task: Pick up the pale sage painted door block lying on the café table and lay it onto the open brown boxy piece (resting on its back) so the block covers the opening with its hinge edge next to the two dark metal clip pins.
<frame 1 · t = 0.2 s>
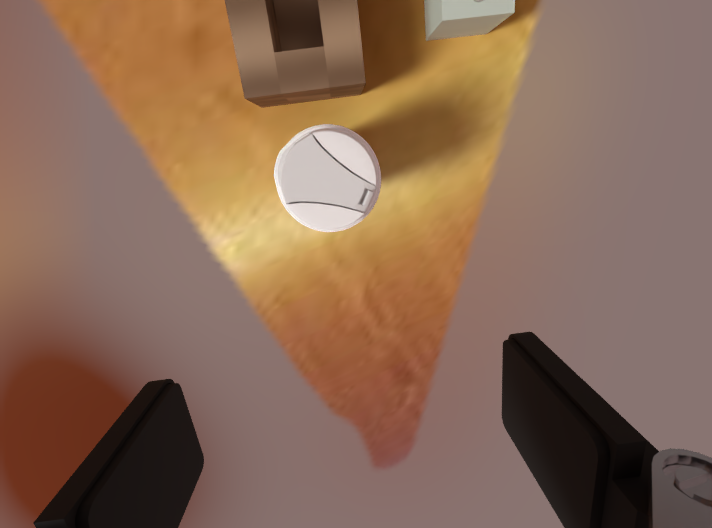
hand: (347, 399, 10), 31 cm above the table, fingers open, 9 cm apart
paper cup: (330, 169, 38), on the table
brown boxy piece: (299, 20, 33), on the table
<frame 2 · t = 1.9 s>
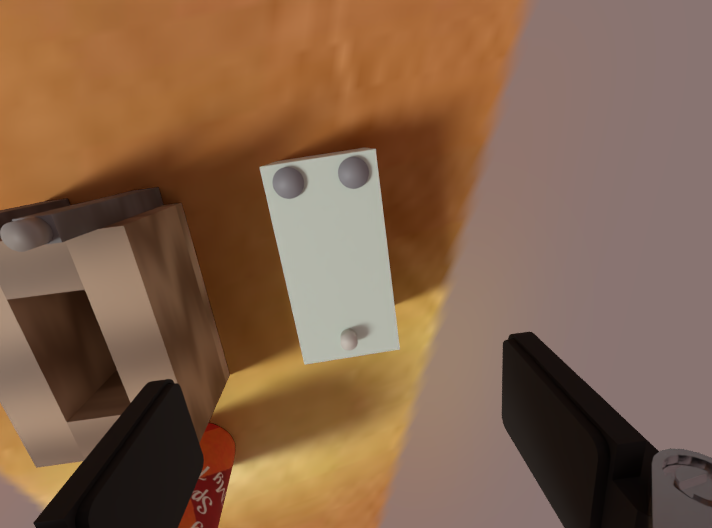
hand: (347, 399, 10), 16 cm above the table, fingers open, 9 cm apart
paper cup: (203, 445, 31), on the table
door: (335, 239, 26), on the table
brown boxy piece: (140, 305, 26), on the table
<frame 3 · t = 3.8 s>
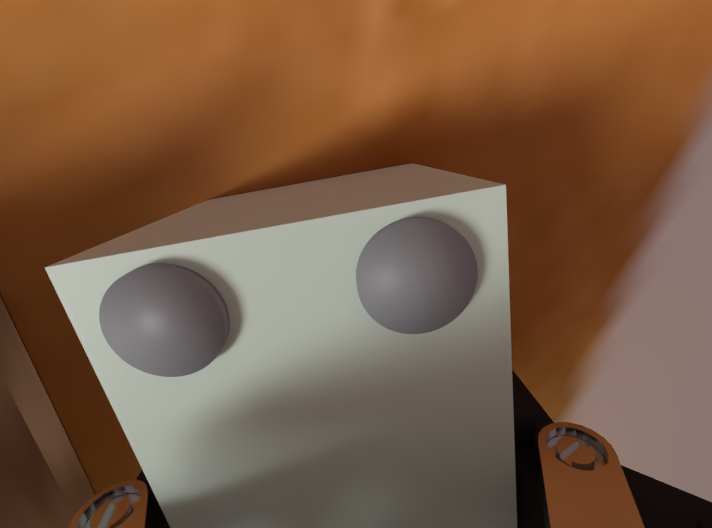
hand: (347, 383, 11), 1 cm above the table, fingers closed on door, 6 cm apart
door: (346, 357, 12), on the table, touching gripper
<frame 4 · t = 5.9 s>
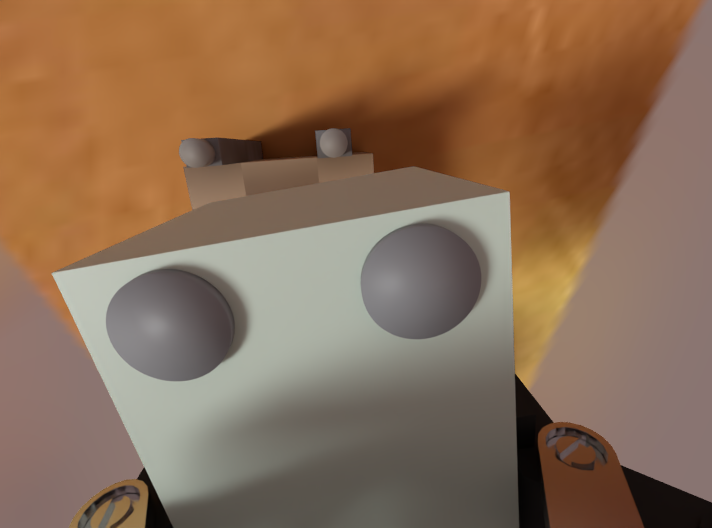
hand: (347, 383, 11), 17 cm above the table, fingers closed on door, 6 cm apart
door: (347, 359, 12), point 16 cm above the table, touching gripper
brown boxy piece: (305, 250, 28), on the table
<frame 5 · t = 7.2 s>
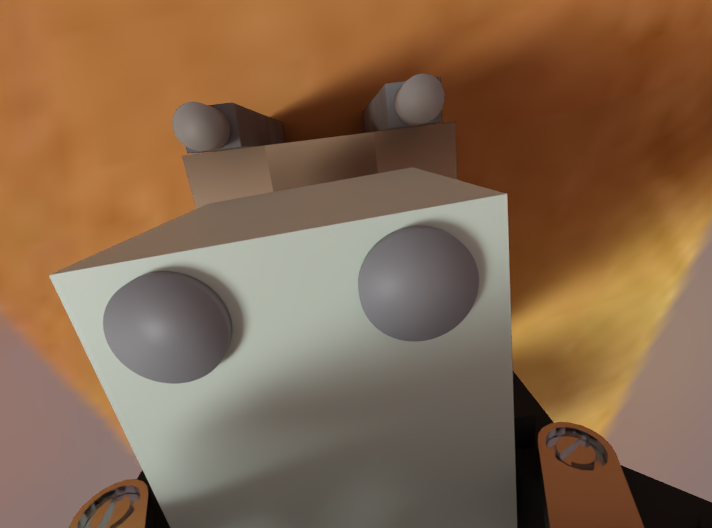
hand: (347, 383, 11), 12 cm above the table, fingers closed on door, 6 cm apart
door: (346, 360, 12), point 10 cm above the table, touching gripper
brown boxy piece: (341, 260, 22), on the table
when the fingers open (10 cm above the table, at t = 8.0 s): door drops 1 cm, resting on brown boxy piece.
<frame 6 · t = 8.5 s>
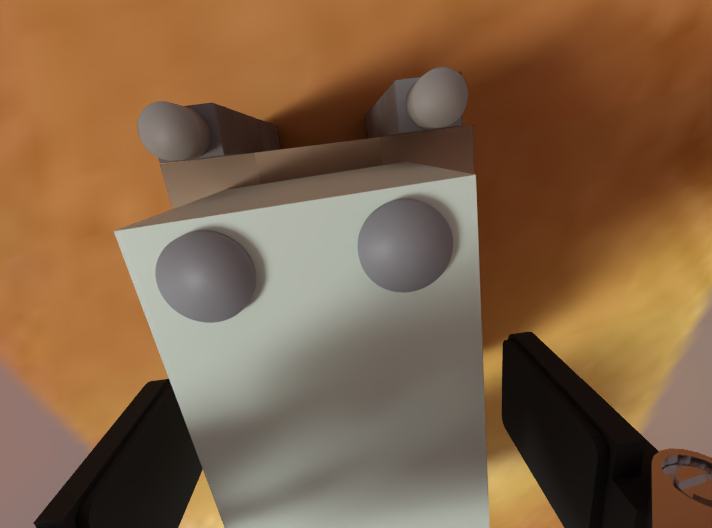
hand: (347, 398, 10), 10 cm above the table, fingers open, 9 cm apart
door: (344, 336, 13), point 7 cm above the table, touching brown boxy piece
brown boxy piece: (342, 275, 20), on the table
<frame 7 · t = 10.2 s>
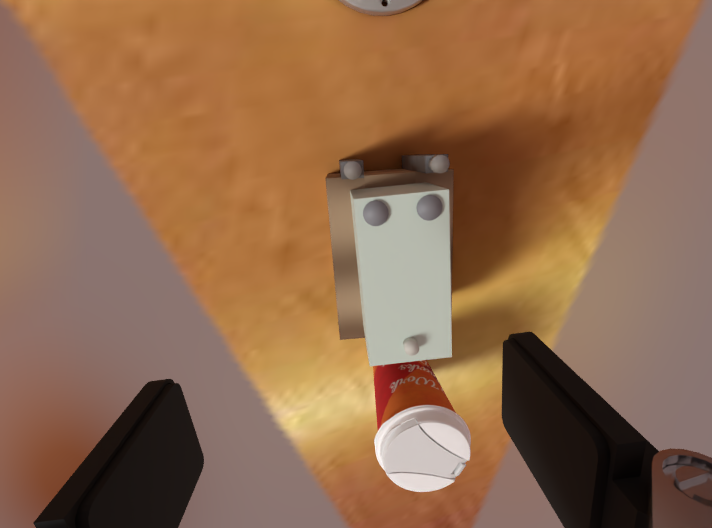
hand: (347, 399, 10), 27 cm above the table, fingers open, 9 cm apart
paper cup: (396, 357, 41), on the table
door: (392, 259, 30), point 7 cm above the table, touching brown boxy piece
brown boxy piece: (382, 240, 36), on the table
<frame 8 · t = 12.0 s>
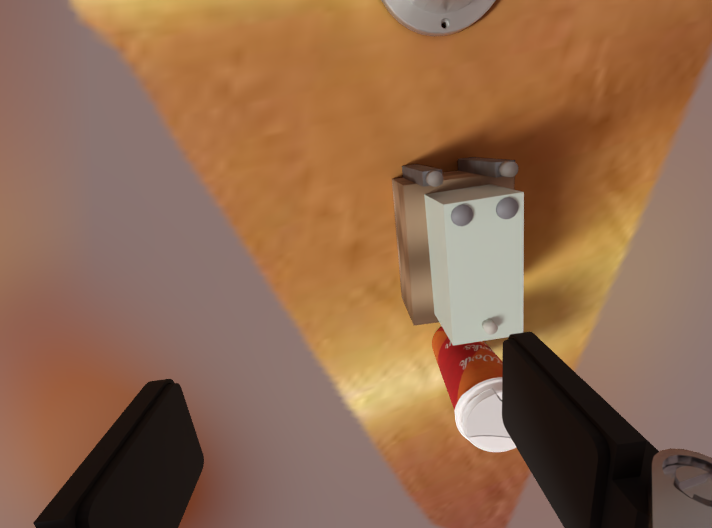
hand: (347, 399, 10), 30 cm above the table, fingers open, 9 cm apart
paper cup: (452, 340, 45), on the table
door: (460, 252, 34), point 7 cm above the table, touching brown boxy piece
brown boxy piece: (440, 235, 40), on the table
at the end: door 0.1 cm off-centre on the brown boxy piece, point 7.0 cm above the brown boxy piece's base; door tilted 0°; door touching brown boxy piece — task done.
